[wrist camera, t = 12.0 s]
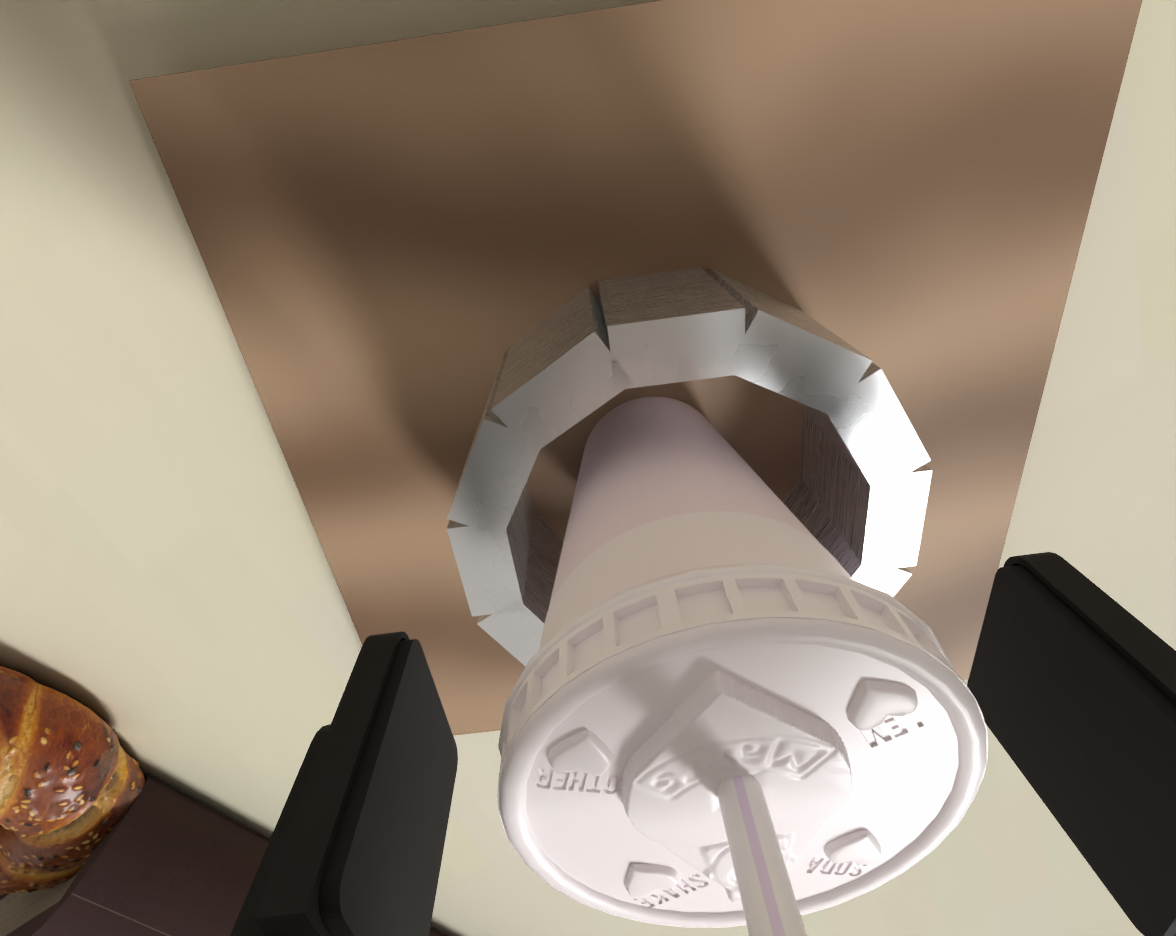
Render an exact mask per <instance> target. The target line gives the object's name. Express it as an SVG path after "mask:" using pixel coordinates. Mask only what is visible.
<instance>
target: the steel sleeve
mask: <svg viewBox="0 0 1176 936" xmlns="http://www.w3.org/2000/svg"><path fill="white" fill-rule="evenodd" d="M598 286H599V295H600V300H599V299H598V298H597V296H596V295H595V294H594V292H593V291H592V290H591V288H590V287H589V285H588V286H586V287H585V288H584V289H583V290H581V291H580V292H579V293H577V294H576V295H575V296H574V297H572V298H571V299H570V300H569V301H567V302H566V303H565V304H563V305H562V306H561V307H560V308H558V309H557V310H556V311H554V312H553V313H552V314H551V315H549V316H548V317H547V318H546V319H544V320H543V321H542V322H540V323H539V324H538V325H537V326H535V327H534V328H533V329H532V330H530V331H529V332H528V333H526V334H525V335H524V336H523V337H521V338H520V339H519V340H517V341H516V342H515V343H514V344H512V345H511V346H510V348H509V352H508V355H506V354H504V357H503V359H502V362H501V365H500V368H499V370H498V373H497V376H496V379H495V381H494V384H493V387H492V390H491V392H490V395H489V398H488V401H487V403H486V406H485V409H484V411H483V414H482V417H481V420H480V422H479V425H478V428H477V431H476V433H475V436H474V439H473V442H472V445H471V448H470V451H469V454H468V457H467V460H466V463H465V466H464V469H463V472H462V475H461V478H460V481H459V484H458V487H457V491H456V494H455V497H454V500H453V503H452V506H451V509H450V512H449V515H448V518H447V519H449V523H448V527H447V531H448V535H449V538H450V542H451V545H452V549H453V552H454V556H455V559H456V563H457V566H458V570H459V573H460V577H461V580H462V584H463V587H464V591H465V594H466V598H467V601H468V605H469V608H470V612H471V615H472V616H478V621H477V625H479V626H480V627H481V628H482V629H483V630H484V631H485V632H487V633H488V634H489V635H490V636H491V637H492V638H493V639H495V640H496V641H497V642H498V643H499V644H500V645H501V646H503V647H504V648H505V649H506V650H507V651H508V652H509V653H511V654H512V655H513V656H514V657H515V658H516V659H517V660H519V661H520V662H521V663H522V664H523V665H524V666H525V667H526V665H527V663H528V662H529V660H530V659H531V658H532V657H533V656H534V655H535V654H536V653H537V652H539V647H540V643H541V638H542V633H543V628H544V623H545V619H546V615H547V612H548V609H549V604H550V600H551V596H552V591H553V587H554V582H555V578H556V573H557V569H558V564H559V560H560V555H561V551H562V547H563V542H564V540H563V539H562V538H561V537H560V536H559V535H558V534H557V533H556V532H555V531H554V530H553V529H552V528H551V527H550V526H549V525H548V524H547V523H546V522H545V521H544V520H543V518H542V517H541V516H540V515H539V514H538V513H537V512H536V511H535V510H534V509H533V507H532V502H531V497H530V492H529V487H528V482H527V479H528V477H529V475H530V472H531V470H532V467H533V465H534V463H535V460H536V458H537V456H538V453H539V451H540V449H541V448H543V447H544V446H546V445H547V444H548V443H550V442H551V441H553V440H554V439H555V438H557V437H558V436H560V435H561V434H562V433H564V432H565V431H567V430H568V429H569V428H571V427H572V426H574V425H575V424H577V423H578V422H579V421H581V420H582V419H584V418H585V417H586V416H588V415H589V414H591V413H592V412H593V411H595V410H596V409H598V408H599V407H600V406H602V405H603V404H605V403H606V402H608V401H609V400H610V399H612V398H613V397H615V396H616V395H617V394H619V393H620V392H622V391H623V390H624V389H629V388H637V387H645V386H653V385H661V384H668V383H676V382H684V381H692V380H700V379H708V378H715V377H723V376H731V375H735V376H738V377H740V378H743V379H745V380H747V381H750V382H752V383H755V384H757V385H759V386H762V387H764V388H767V389H769V390H771V391H774V392H776V393H779V394H781V395H783V396H786V397H788V398H791V399H793V400H795V401H798V402H799V404H800V406H801V407H802V409H803V420H802V440H801V460H800V476H799V478H798V479H797V481H796V482H795V484H794V485H793V487H792V488H791V490H790V491H789V493H788V494H787V496H786V497H785V499H784V500H783V503H784V504H785V506H786V507H787V508H788V509H789V510H790V511H791V512H792V513H793V514H794V515H795V516H796V518H797V519H798V520H799V521H800V522H801V523H802V524H803V525H804V526H805V527H806V529H807V530H808V531H809V532H810V533H811V534H812V535H813V536H814V537H815V538H816V539H817V541H818V542H819V543H820V544H821V545H822V546H823V547H824V548H826V549H827V550H828V551H829V553H830V554H831V555H832V556H833V557H834V558H835V559H836V560H837V561H838V562H839V563H840V565H841V566H842V567H843V568H844V569H845V570H846V571H847V573H848V574H849V575H850V576H851V577H852V578H853V579H854V580H855V581H858V582H860V583H863V584H865V585H868V586H871V587H873V588H876V589H878V590H881V591H883V592H886V593H888V594H890V595H891V596H892V597H893V596H894V595H895V594H896V592H897V591H898V590H899V589H900V588H901V586H902V585H903V584H904V583H905V582H906V581H907V579H908V578H909V577H910V576H911V575H912V574H911V573H910V571H909V570H908V569H907V568H906V567H907V566H916V563H917V557H918V551H919V545H920V540H921V534H922V528H923V522H924V516H925V510H926V505H927V499H928V493H929V487H930V481H931V475H932V470H931V469H930V468H929V467H928V466H927V465H926V464H925V463H927V462H929V461H931V460H930V458H929V456H928V454H927V452H926V450H925V449H924V447H923V445H922V443H921V441H920V439H919V437H918V436H917V434H916V432H915V430H914V428H913V426H912V424H911V423H910V421H909V419H908V417H907V415H906V413H905V412H904V410H903V408H902V406H901V404H900V402H899V400H898V399H897V397H896V395H895V393H894V391H893V389H892V387H891V386H890V384H889V382H888V380H887V378H886V376H885V375H884V373H883V371H882V369H881V368H880V367H878V366H877V365H876V364H874V363H873V362H872V360H871V359H870V358H868V357H867V356H865V355H864V354H862V353H861V352H860V351H858V350H857V349H855V348H854V347H852V346H851V345H850V344H848V343H847V342H845V341H844V340H843V339H841V338H840V337H838V336H837V335H835V334H834V333H833V332H831V331H830V330H828V329H827V328H825V327H824V326H823V325H821V324H820V323H818V322H817V321H815V320H814V319H813V318H811V317H810V316H808V315H807V314H806V313H804V312H803V311H801V310H800V309H798V308H796V307H794V306H792V305H790V304H787V303H785V302H783V301H781V300H779V299H776V298H774V297H772V296H770V295H768V294H765V293H763V292H761V291H759V290H757V289H754V288H752V287H750V286H748V285H746V284H743V283H741V282H739V281H737V280H735V279H732V278H730V277H728V276H726V275H724V274H721V273H719V272H717V271H715V270H713V269H710V271H709V273H708V274H707V273H706V272H705V271H704V270H703V269H702V268H701V267H698V268H691V269H683V270H676V271H669V272H661V273H654V274H646V275H639V276H631V277H624V278H616V279H609V280H602V281H598Z"/></svg>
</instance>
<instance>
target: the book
mask: <svg viewBox="0 0 1176 936" xmlns="http://www.w3.org/2000/svg"><path fill="white" fill-rule="evenodd" d="M144 778H145V784H144V786H143V789H142V792H141V793H140V794H139V795H138V797H137V798H136V800H135V801H134V802H133V804H132V805H131V806H130V808H129V809H128V810H127V811H126V813H125V814H124V815H123V816H122V818H121V819H120V820H119V821H118V822H117V824H116V825H115V826H114V828H113V829H112V830H111V831H110V832H109V833H108V834H107V835H106V836H105V837H104V838H103V839H102V840H101V841H100V842H99V844H98V845H97V847H96V848H95V850H94V851H93V852H92V854H91V855H90V857H89V858H88V860H87V861H86V863H85V864H84V866H83V867H82V868H81V869H80V870H79V871H78V872H77V873H76V874H75V875H74V876H73V877H72V878H71V879H70V880H68V881H66V882H64V883H62V884H58V885H56V886H55V887H54V888H52V889H46V890H37V891H35V892H31V893H29V892H28V893H22V892H16V893H13V894H12V893H7V894H6V895H5V896H3V897H0V936H230V934H231V932H232V930H233V927H234V925H235V923H236V920H237V918H238V915H239V913H240V911H241V908H242V906H243V904H244V901H245V899H246V896H247V894H248V892H249V889H250V887H251V884H252V882H253V880H254V877H255V875H256V873H257V870H258V868H259V865H260V863H261V861H262V858H263V856H264V854H265V851H266V849H267V846H268V844H269V842H270V840H269V839H267V838H265V837H263V836H262V835H260V834H258V833H256V832H254V831H252V830H250V829H249V828H247V827H245V826H243V825H241V824H239V823H238V822H236V821H234V820H232V819H230V818H228V817H227V816H225V815H223V814H221V813H219V812H217V811H215V810H214V809H212V808H210V807H208V806H206V805H204V804H203V803H201V802H199V801H197V800H195V799H193V798H191V797H190V796H188V795H186V794H184V793H182V792H180V791H179V790H177V789H175V788H173V787H171V786H169V785H167V784H166V783H164V782H162V781H160V780H158V779H156V778H155V777H153V776H151V775H149V774H147V775H145V776H144ZM429 936H446V935H444V934H442V933H440V932H439V931H437V930H435V929H433V928H431V927H430V931H429Z"/></svg>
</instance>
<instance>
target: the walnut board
mask: <svg viewBox="0 0 1176 936" xmlns="http://www.w3.org/2000/svg"><path fill="white" fill-rule="evenodd" d="M1141 4H1142V0H661V1H654V2H647V3H641V4H634V5H627V6H621V7H614V8H608V9H601V10H594V11H588V12H581V13H574V14H568V15H561V16H554V17H548V18H541V19H535V20H528V21H521V22H515V23H508V24H501V25H495V26H488V27H481V28H475V29H468V30H461V31H455V32H448V33H442V34H435V35H428V36H422V37H415V38H408V39H402V40H395V41H388V42H382V43H375V44H368V45H362V46H355V47H349V48H342V49H335V50H329V51H322V52H315V53H309V54H302V55H295V56H289V57H282V58H276V59H269V60H262V61H256V62H249V63H242V64H236V65H229V66H222V67H216V68H209V69H202V70H196V71H189V72H183V73H176V74H169V75H163V76H156V77H149V78H143V79H136V80H129V82H130V85H131V87H132V90H133V92H134V94H135V97H136V99H137V102H138V104H139V107H140V109H141V111H142V114H143V116H144V119H145V121H146V123H147V126H148V128H149V131H150V133H151V136H152V138H153V140H154V143H155V145H156V148H157V150H158V152H159V155H160V157H161V160H162V162H163V164H164V167H165V169H166V172H167V174H168V177H169V179H170V181H171V184H172V186H173V189H174V191H175V193H176V196H177V198H178V201H179V203H180V206H181V208H182V210H183V213H184V215H185V218H186V220H187V222H188V225H189V227H190V230H191V232H192V234H193V237H194V239H195V242H196V244H197V247H198V249H199V251H200V254H201V256H202V259H203V261H204V263H205V266H206V268H207V271H208V273H209V276H210V278H211V280H212V283H213V285H214V288H215V290H216V292H217V295H218V297H219V300H220V302H221V304H222V307H223V309H224V312H225V314H226V317H227V319H228V321H229V324H230V326H231V329H232V331H233V333H234V336H235V338H236V341H237V343H238V346H239V348H240V350H241V353H242V355H243V358H244V360H245V362H246V365H247V367H248V370H249V372H250V374H251V377H252V379H253V382H254V384H255V387H256V389H257V391H258V394H259V396H260V399H261V401H262V403H263V406H264V408H265V411H266V413H267V416H268V418H269V420H270V423H271V425H272V428H273V430H274V432H275V435H276V437H277V440H278V442H279V444H280V447H281V449H282V452H283V454H284V457H285V459H286V461H287V464H288V466H289V469H290V471H291V473H292V476H293V478H294V481H295V483H296V486H297V488H298V490H299V493H300V495H301V498H302V500H303V502H304V505H305V507H306V510H307V512H308V515H309V517H310V519H311V522H312V524H313V527H314V529H315V531H316V534H317V536H318V539H319V541H320V543H321V546H322V548H323V551H324V553H325V556H326V558H327V560H328V563H329V565H330V568H331V570H332V572H333V575H334V577H335V580H336V582H337V585H338V587H339V589H340V592H341V594H342V597H343V599H344V601H345V604H346V606H347V609H348V611H349V613H350V616H351V618H352V621H353V623H354V626H355V628H356V630H357V633H358V635H359V638H360V640H361V642H362V645H363V643H364V641H365V639H366V638H367V637H368V636H369V635H377V634H385V633H394V632H405V633H406V634H407V635H408V637H409V639H410V640H411V639H418V640H419V642H420V644H421V646H422V649H423V652H424V655H425V658H426V661H427V663H428V666H429V669H430V672H431V675H432V678H433V680H434V683H435V686H436V689H437V692H438V694H439V697H440V700H441V703H442V706H443V709H444V711H445V714H446V717H447V720H448V723H449V726H450V728H451V731H452V734H453V735H461V734H470V733H479V732H489V731H498V730H501V726H502V719H503V713H504V706H505V702H506V700H507V699H508V697H509V695H510V693H511V692H512V690H513V688H514V686H515V685H516V683H517V681H518V679H519V677H520V676H521V674H522V672H523V670H524V669H525V666H524V665H523V664H522V663H521V662H520V661H519V660H517V659H516V658H515V657H514V656H513V655H512V654H511V653H509V652H508V651H507V650H506V649H505V648H504V647H503V646H501V645H500V644H499V643H498V642H497V641H496V640H495V639H493V638H492V637H491V636H490V635H489V634H488V633H487V632H485V631H484V630H483V629H482V628H481V627H480V626H479V625H477V621H478V616H472V615H471V612H470V608H469V605H468V601H467V598H466V594H465V591H464V587H463V584H462V580H461V577H460V573H459V570H458V566H457V563H456V559H455V556H454V552H453V549H452V545H451V542H450V538H449V535H448V531H447V527H448V523H449V519H447V518H448V515H449V512H450V509H451V506H452V503H453V500H454V497H455V494H456V491H457V487H458V484H459V481H460V478H461V475H462V472H463V469H464V466H465V463H466V460H467V457H468V454H469V451H470V448H471V445H472V442H473V439H474V436H475V433H476V431H477V428H478V425H479V422H480V420H481V417H482V414H483V411H484V409H485V406H486V403H487V401H488V398H489V395H490V392H491V390H492V387H493V384H494V381H495V379H496V376H497V373H498V370H499V368H500V365H501V362H502V359H503V357H504V354H506V355H508V352H509V348H510V346H511V345H512V344H514V343H515V342H516V341H517V340H519V339H520V338H521V337H523V336H524V335H525V334H526V333H528V332H529V331H530V330H532V329H533V328H534V327H535V326H537V325H538V324H539V323H540V322H542V321H543V320H544V319H546V318H547V317H548V316H549V315H551V314H552V313H553V312H554V311H556V310H557V309H558V308H560V307H561V306H562V305H563V304H565V303H566V302H567V301H569V300H570V299H571V298H572V297H574V296H575V295H576V294H577V293H579V292H580V291H581V290H583V289H584V288H585V287H586V286H588V285H589V287H590V288H591V290H592V291H593V292H594V294H595V295H596V296H597V298H598V299H599V300H600V295H599V286H598V281H602V280H609V279H616V278H624V277H631V276H639V275H646V274H654V273H661V272H669V271H676V270H683V269H691V268H698V267H701V268H702V269H703V270H704V271H705V272H706V273H707V274H708V273H709V271H710V269H713V270H715V271H717V272H719V273H721V274H724V275H726V276H728V277H730V278H732V279H735V280H737V281H739V282H741V283H743V284H746V285H748V286H750V287H752V288H754V289H757V290H759V291H761V292H763V293H765V294H768V295H770V296H772V297H774V298H776V299H779V300H781V301H783V302H785V303H787V304H790V305H792V306H794V307H796V308H798V309H800V310H801V311H803V312H804V313H806V314H807V315H808V316H810V317H811V318H813V319H814V320H815V321H817V322H818V323H820V324H821V325H823V326H824V327H825V328H827V329H828V330H830V331H831V332H833V333H834V334H835V335H837V336H838V337H840V338H841V339H843V340H844V341H845V342H847V343H848V344H850V345H851V346H852V347H854V348H855V349H857V350H858V351H860V352H861V353H862V354H864V355H865V356H867V357H868V358H870V359H871V360H872V362H873V363H874V364H876V365H877V366H878V367H880V368H881V369H882V371H883V373H884V375H885V376H886V378H887V380H888V382H889V384H890V386H891V387H892V389H893V391H894V393H895V395H896V397H897V399H898V400H899V402H900V404H901V406H902V408H903V410H904V412H905V413H906V415H907V417H908V419H909V421H910V423H911V424H912V426H913V428H914V430H915V432H916V434H917V436H918V437H919V439H920V441H921V443H922V445H923V447H924V449H925V450H926V452H927V454H928V456H929V458H930V460H931V461H929V462H927V463H925V464H926V465H927V466H928V467H929V468H930V469H931V470H932V475H931V481H930V487H929V493H928V499H927V505H926V510H925V516H924V522H923V528H922V534H921V540H920V545H919V551H918V557H917V563H916V566H907V567H906V568H907V569H908V570H909V571H910V573H911V574H912V575H911V576H910V577H909V578H908V579H907V581H906V582H905V583H904V584H903V585H902V586H901V588H900V589H899V590H898V591H897V592H896V594H895V595H894V596H893V597H894V598H895V599H896V600H897V601H899V602H900V603H901V604H902V605H904V606H905V607H906V608H907V609H909V610H910V611H911V612H912V613H914V614H915V615H916V616H917V617H919V618H920V619H921V620H922V621H924V622H925V623H926V624H927V625H929V626H930V628H931V629H932V631H933V633H934V635H935V636H936V638H937V640H938V642H939V643H940V645H941V647H942V649H943V650H944V652H945V654H946V656H947V657H948V659H949V661H950V663H951V664H952V666H953V670H954V671H955V672H956V673H957V674H958V675H959V676H960V677H961V679H962V680H968V679H969V675H970V671H971V667H972V664H973V660H974V656H975V652H976V648H977V644H978V640H979V636H980V632H981V628H982V625H983V621H984V617H985V613H986V609H987V605H988V601H989V597H990V593H991V589H992V585H993V582H994V578H995V574H996V572H997V570H998V567H999V563H1000V559H1001V555H1002V551H1003V548H1004V544H1005V540H1006V536H1007V532H1008V528H1009V524H1010V520H1011V516H1012V512H1013V508H1014V504H1015V500H1016V496H1017V492H1018V488H1019V484H1020V481H1021V477H1022V473H1023V469H1024V465H1025V461H1026V457H1027V453H1028V449H1029V445H1030V441H1031V437H1032V433H1033V429H1034V425H1035V421H1036V417H1037V414H1038V410H1039V406H1040V402H1041V398H1042V394H1043V390H1044V386H1045V382H1046V378H1047V374H1048V370H1049V366H1050V362H1051V358H1052V354H1053V350H1054V347H1055V343H1056V339H1057V335H1058V331H1059V327H1060V323H1061V319H1062V315H1063V311H1064V307H1065V303H1066V299H1067V295H1068V291H1069V287H1070V283H1071V280H1072V276H1073V272H1074V268H1075V264H1076V260H1077V256H1078V252H1079V248H1080V244H1081V240H1082V236H1083V232H1084V228H1085V224H1086V220H1087V216H1088V213H1089V209H1090V205H1091V201H1092V197H1093V193H1094V189H1095V185H1096V181H1097V177H1098V173H1099V169H1100V165H1101V161H1102V157H1103V153H1104V149H1105V146H1106V142H1107V138H1108V134H1109V130H1110V126H1111V122H1112V118H1113V114H1114V110H1115V106H1116V102H1117V98H1118V94H1119V90H1120V86H1121V82H1122V79H1123V75H1124V71H1125V67H1126V63H1127V59H1128V55H1129V51H1130V47H1131V43H1132V39H1133V35H1134V31H1135V27H1136V23H1137V19H1138V15H1139V12H1140V8H1141ZM643 397H667V398H672V399H676V400H679V401H682V402H684V403H686V404H688V405H690V406H692V407H693V408H695V409H696V410H698V411H699V412H700V413H701V414H702V415H703V416H704V417H705V418H706V419H707V420H708V421H709V422H710V424H711V425H712V426H713V427H714V428H715V429H716V430H717V431H718V432H719V433H720V434H721V436H722V437H723V438H724V439H725V440H726V441H727V442H728V443H729V444H730V445H731V446H732V448H733V449H734V450H735V451H736V452H737V453H738V454H739V455H740V456H741V457H742V459H743V460H744V461H745V462H746V463H747V464H748V465H749V466H750V467H751V468H752V469H753V471H754V472H755V473H756V474H757V475H758V476H759V477H760V478H761V479H762V480H763V481H764V483H765V484H766V485H767V486H768V487H769V488H770V489H771V490H772V491H773V492H774V494H775V495H776V496H777V497H778V498H779V499H780V500H781V501H782V502H783V500H784V499H785V497H786V496H787V494H788V493H789V491H790V490H791V488H792V487H793V485H794V484H795V482H796V481H797V479H798V478H799V476H800V460H801V440H802V420H803V409H802V407H801V406H800V404H799V402H798V401H795V400H793V399H791V398H788V397H786V396H783V395H781V394H779V393H776V392H774V391H771V390H769V389H767V388H764V387H762V386H759V385H757V384H755V383H752V382H750V381H747V380H745V379H743V378H740V377H738V376H735V375H731V376H723V377H715V378H708V379H700V380H692V381H684V382H676V383H668V384H661V385H653V386H645V387H637V388H629V389H624V390H623V391H622V392H620V393H619V394H617V395H616V396H615V397H613V398H612V399H610V400H609V401H608V402H606V403H605V404H603V405H602V406H600V407H599V408H598V409H596V410H595V411H593V412H592V413H591V414H589V415H588V416H586V417H585V418H584V419H582V420H581V421H579V422H578V423H577V424H575V425H574V426H572V427H571V428H569V429H568V430H567V431H565V432H564V433H562V434H561V435H560V436H558V437H557V438H555V439H554V440H553V441H551V442H550V443H548V444H547V445H546V446H544V447H543V448H541V449H540V451H539V453H538V456H537V458H536V460H535V463H534V465H533V467H532V470H531V472H530V475H529V477H528V479H527V482H528V487H529V492H530V497H531V502H532V507H533V509H534V510H535V511H536V512H537V513H538V514H539V515H540V516H541V517H542V518H543V520H544V521H545V522H546V523H547V524H548V525H549V526H550V527H551V528H552V529H553V530H554V531H555V532H556V533H557V534H558V535H559V536H560V537H561V538H562V539H563V540H564V538H565V533H566V529H567V524H568V520H569V515H570V511H571V506H572V502H573V498H574V493H575V489H576V484H577V480H578V475H579V471H580V466H581V462H582V457H583V453H584V449H585V445H586V442H587V439H588V437H589V435H590V433H591V431H592V430H593V428H594V427H595V425H596V424H597V423H598V422H599V421H600V420H601V418H602V417H604V416H605V415H606V414H607V413H608V412H610V411H611V410H612V409H614V408H616V407H617V406H619V405H621V404H623V403H625V402H628V401H631V400H634V399H638V398H643Z"/></svg>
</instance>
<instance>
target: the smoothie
mask: <svg viewBox="0 0 1176 936" xmlns="http://www.w3.org/2000/svg"><path fill="white" fill-rule="evenodd" d="M499 750H500V754H501V765H500V773H499V782H498V794H497V798H498V810H499V815H500V819H501V823H502V826H503V828H504V831H505V833H506V836H507V838H508V840H509V841H510V843H511V845H512V846H513V848H514V850H515V851H516V852H517V854H518V855H519V856H520V858H521V859H522V860H523V861H524V862H525V864H526V865H527V866H528V867H529V868H530V869H532V870H533V871H534V872H535V873H536V874H537V875H538V876H539V877H541V878H542V879H543V880H544V881H545V882H546V883H547V884H548V885H550V886H551V887H553V888H555V889H556V890H558V891H560V892H562V893H563V894H565V895H567V896H568V897H570V898H572V899H574V900H575V901H577V902H579V903H581V904H584V905H587V906H589V907H592V908H594V909H597V910H600V911H602V912H605V913H607V914H610V915H614V916H618V917H622V918H627V919H631V920H635V921H639V922H644V923H650V924H658V925H667V926H676V927H709V928H723V927H733V926H744V925H747V927H748V932H749V936H807V935H806V931H805V928H804V925H803V921H802V918H801V916H802V915H806V914H809V913H812V912H816V911H819V910H822V909H825V908H829V907H832V906H835V905H838V904H841V903H843V902H845V901H848V900H850V899H853V898H855V897H857V896H860V895H862V894H864V893H867V892H869V891H871V890H874V889H875V888H877V887H879V886H881V885H882V884H884V883H886V882H888V881H889V880H891V879H893V878H895V877H896V876H898V875H900V874H902V873H903V872H905V871H907V870H908V869H909V868H911V867H912V866H913V865H915V864H916V863H917V862H918V861H920V860H921V859H922V858H924V857H925V856H926V855H928V854H929V853H930V852H931V851H933V850H934V849H935V848H936V847H937V846H938V845H939V844H940V843H941V842H942V841H943V840H944V839H945V838H946V837H947V836H948V835H949V834H950V832H951V831H952V830H953V829H954V828H955V827H956V826H957V825H958V824H959V823H960V821H961V820H962V818H963V816H964V815H965V813H966V811H967V810H968V808H969V806H970V805H971V803H972V802H973V800H974V798H975V797H976V795H977V793H978V790H979V787H980V784H981V781H982V779H983V776H984V772H985V768H986V763H987V756H988V736H987V728H986V724H985V721H984V717H983V714H982V711H981V709H980V707H979V705H978V703H977V701H976V699H975V697H974V696H973V694H972V693H971V691H970V690H969V688H968V687H967V685H966V684H965V683H964V681H963V680H962V679H961V677H960V676H959V675H958V674H957V673H956V672H955V671H954V670H953V666H952V664H951V663H950V661H949V659H948V657H947V656H946V654H945V652H944V650H943V649H942V647H941V645H940V643H939V642H938V640H937V638H936V636H935V635H934V633H933V631H932V629H931V628H930V626H929V625H927V624H926V623H925V622H924V621H922V620H921V619H920V618H919V617H917V616H916V615H915V614H914V613H912V612H911V611H910V610H909V609H907V608H906V607H905V606H904V605H902V604H901V603H900V602H899V601H897V600H896V599H895V598H894V597H892V596H891V595H890V594H888V593H886V592H883V591H881V590H878V589H876V588H873V587H871V586H868V585H865V584H863V583H860V582H858V581H855V580H854V579H853V578H852V577H851V576H850V575H849V574H848V573H847V571H846V570H845V569H844V568H843V567H842V566H841V565H840V563H839V562H838V561H837V560H836V559H835V558H834V557H833V556H832V555H831V554H830V553H829V551H828V550H827V549H826V548H824V547H823V546H822V545H821V544H820V543H819V542H818V541H817V539H816V538H815V537H814V536H813V535H812V534H811V533H810V532H809V531H808V530H807V529H806V527H805V526H804V525H803V524H802V523H801V522H800V521H799V520H798V519H797V518H796V516H795V515H794V514H793V513H792V512H791V511H790V510H789V509H788V508H787V507H786V506H785V504H784V503H783V502H782V501H781V500H780V499H779V498H778V497H777V496H776V495H775V494H774V492H773V491H772V490H771V489H770V488H769V487H768V486H767V485H766V484H765V483H764V481H763V480H762V479H761V478H760V477H759V476H758V475H757V474H756V473H755V472H754V471H753V469H752V468H751V467H750V466H749V465H748V464H747V463H746V462H745V461H744V460H743V459H742V457H741V456H740V455H739V454H738V453H737V452H736V451H735V450H734V449H733V448H732V446H731V445H730V444H729V443H728V442H727V441H726V440H725V439H724V438H723V437H722V436H721V434H720V433H719V432H718V431H717V430H716V429H715V428H714V427H713V426H712V425H711V424H710V422H709V421H708V420H707V419H706V418H705V417H704V416H703V415H702V414H701V413H700V412H699V411H698V410H696V409H695V408H693V407H692V406H690V405H688V404H686V403H684V402H682V401H679V400H676V399H672V398H667V397H643V398H638V399H634V400H631V401H628V402H625V403H623V404H621V405H619V406H617V407H616V408H614V409H612V410H611V411H610V412H608V413H607V414H606V415H605V416H604V417H602V418H601V420H600V421H599V422H598V423H597V424H596V425H595V427H594V428H593V430H592V431H591V433H590V435H589V437H588V439H587V442H586V445H585V449H584V453H583V457H582V462H581V466H580V471H579V475H578V480H577V484H576V489H575V493H574V498H573V502H572V506H571V511H570V515H569V520H568V524H567V529H566V533H565V538H564V542H563V547H562V551H561V555H560V560H559V564H558V569H557V573H556V578H555V582H554V587H553V591H552V596H551V600H550V604H549V609H548V612H547V615H546V619H545V623H544V628H543V633H542V638H541V643H540V647H539V652H537V653H536V654H535V655H534V656H533V657H532V658H531V659H530V660H529V662H528V663H527V665H526V667H525V669H524V670H523V672H522V674H521V676H520V677H519V679H518V681H517V683H516V685H515V686H514V688H513V690H512V692H511V693H510V695H509V697H508V699H507V700H506V702H505V706H504V713H503V719H502V726H501V732H500V739H499Z"/></svg>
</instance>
